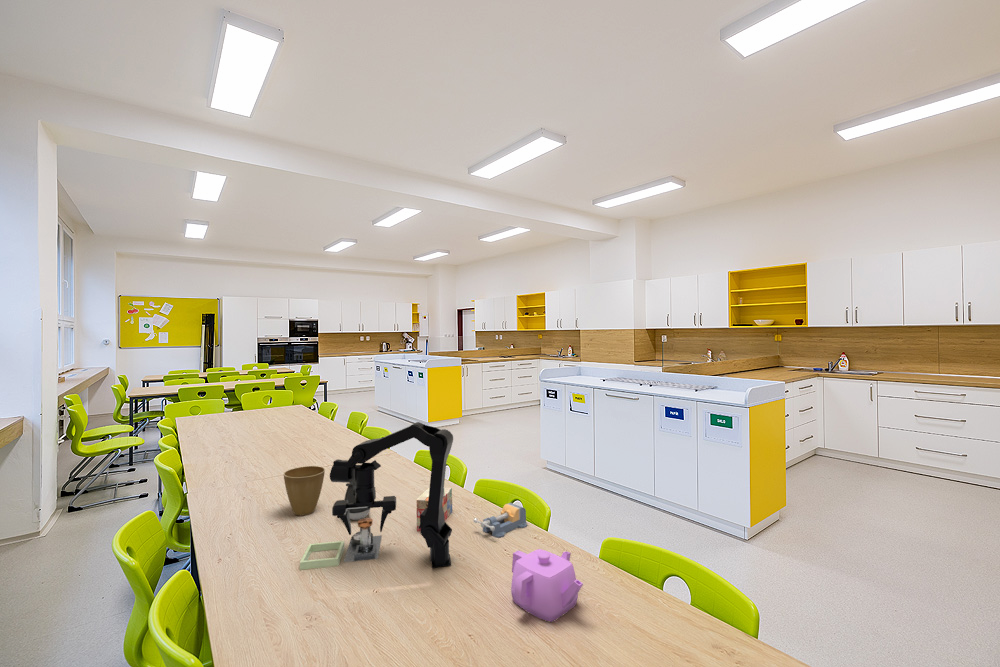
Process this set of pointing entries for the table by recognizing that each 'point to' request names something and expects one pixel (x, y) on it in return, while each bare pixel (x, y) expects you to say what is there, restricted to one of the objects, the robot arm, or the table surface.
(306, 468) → the plant pot
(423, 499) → the stack of blocks
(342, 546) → the tray
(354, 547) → the tensioner
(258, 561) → the table surface
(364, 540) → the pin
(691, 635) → the table surface
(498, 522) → the vise
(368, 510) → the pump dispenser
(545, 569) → the teakettle
